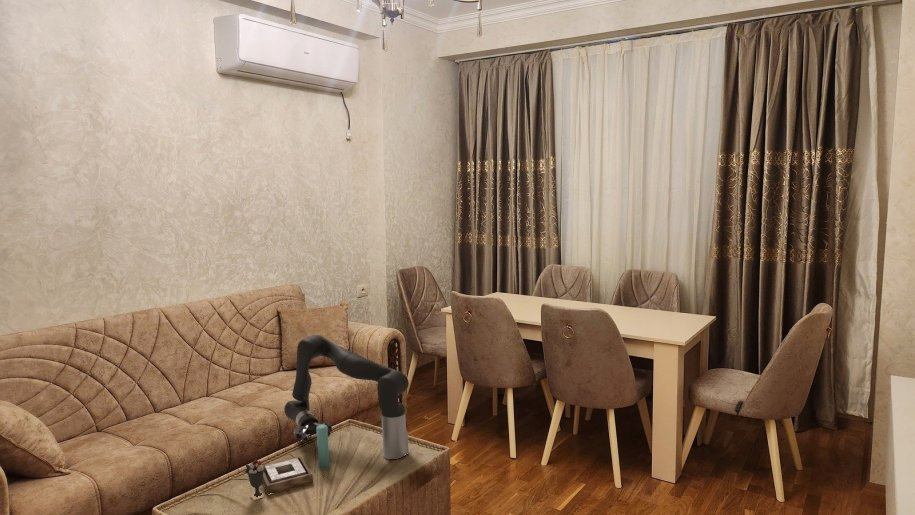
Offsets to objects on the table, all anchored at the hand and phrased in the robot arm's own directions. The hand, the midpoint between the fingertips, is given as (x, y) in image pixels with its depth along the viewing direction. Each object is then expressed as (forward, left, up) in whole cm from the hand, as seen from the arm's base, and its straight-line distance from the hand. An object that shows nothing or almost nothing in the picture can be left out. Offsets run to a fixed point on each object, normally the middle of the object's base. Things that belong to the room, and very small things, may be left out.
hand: (317, 437), depth 244 cm
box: (+15, +9, -9) cm, 20 cm away
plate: (+15, +9, -9) cm, 20 cm away
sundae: (+26, +16, -9) cm, 32 cm away
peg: (0, +7, -9) cm, 12 cm away
